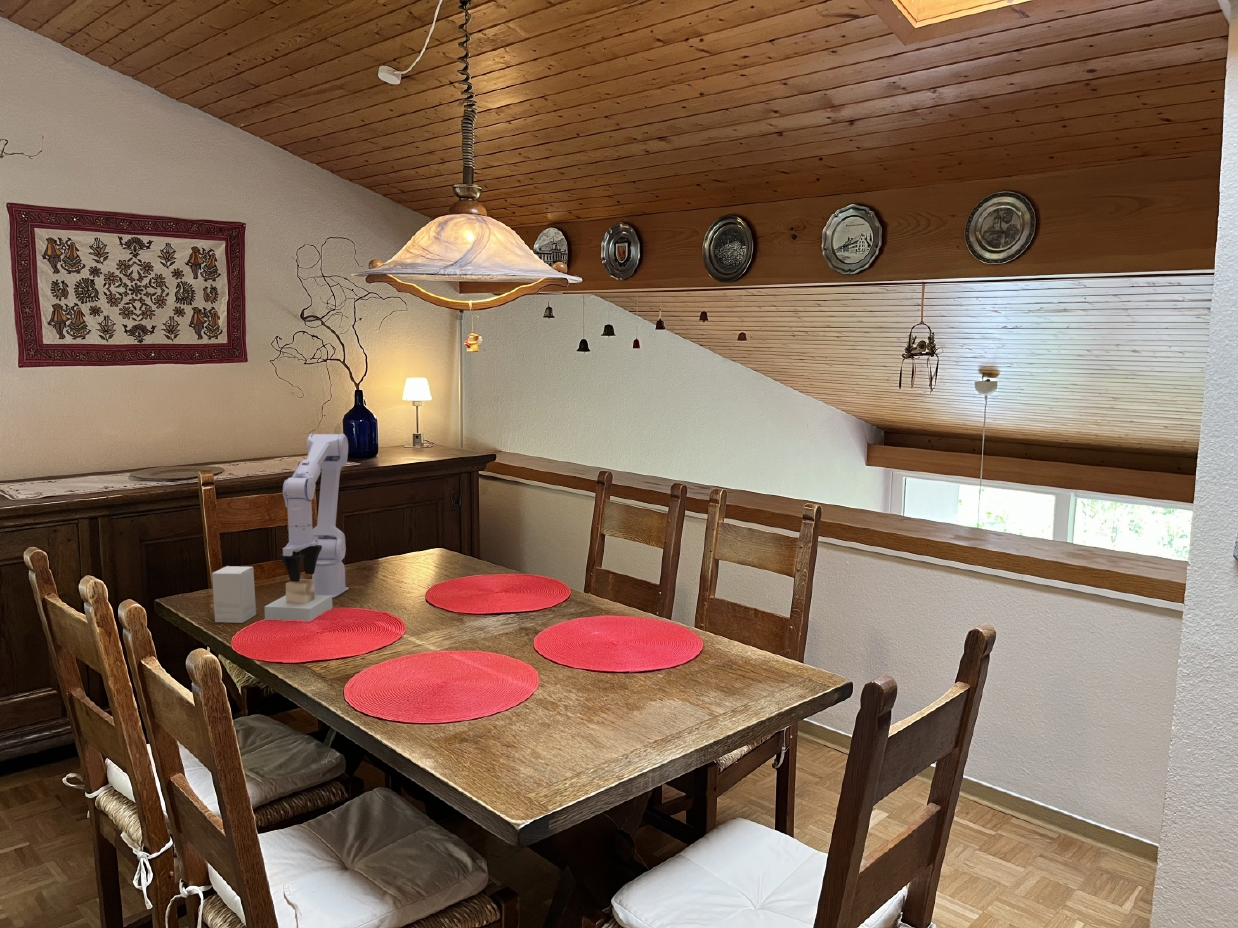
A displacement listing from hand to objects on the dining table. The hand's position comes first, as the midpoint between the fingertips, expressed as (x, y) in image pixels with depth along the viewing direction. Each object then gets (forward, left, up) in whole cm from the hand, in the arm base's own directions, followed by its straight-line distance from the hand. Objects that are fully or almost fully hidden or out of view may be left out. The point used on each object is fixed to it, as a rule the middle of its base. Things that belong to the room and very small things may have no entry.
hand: (302, 577), depth 231 cm
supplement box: (+7, -15, -10) cm, 19 cm away
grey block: (+1, -1, -10) cm, 10 cm away
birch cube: (+1, 0, -6) cm, 6 cm away
